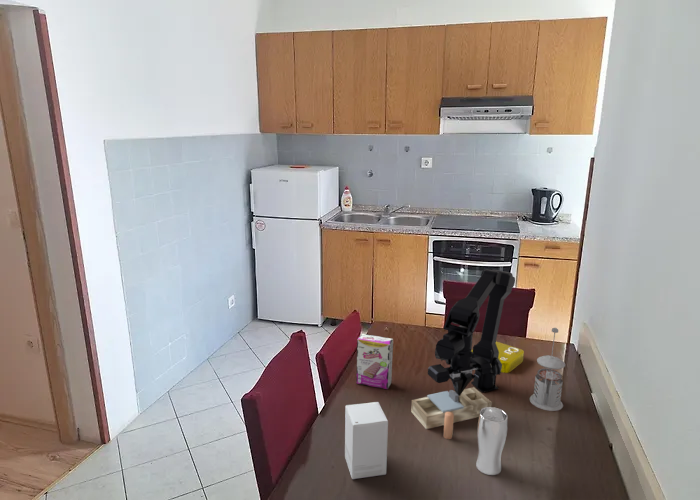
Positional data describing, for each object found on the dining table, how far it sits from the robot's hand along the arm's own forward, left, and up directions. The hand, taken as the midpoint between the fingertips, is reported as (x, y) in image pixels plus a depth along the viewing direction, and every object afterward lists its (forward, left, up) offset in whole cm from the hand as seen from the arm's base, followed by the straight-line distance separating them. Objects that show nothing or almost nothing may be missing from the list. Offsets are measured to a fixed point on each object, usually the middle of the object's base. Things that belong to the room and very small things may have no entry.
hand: (457, 395), depth 141 cm
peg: (+9, +9, -6) cm, 14 cm away
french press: (-29, +5, -6) cm, 30 cm away
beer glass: (+6, +24, -6) cm, 25 cm away
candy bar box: (+17, -24, -6) cm, 30 cm away
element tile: (-33, -24, -6) cm, 41 cm away
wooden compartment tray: (+2, 0, -6) cm, 6 cm away
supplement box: (+35, +12, -6) cm, 38 cm away
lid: (+4, 0, -2) cm, 5 cm away
